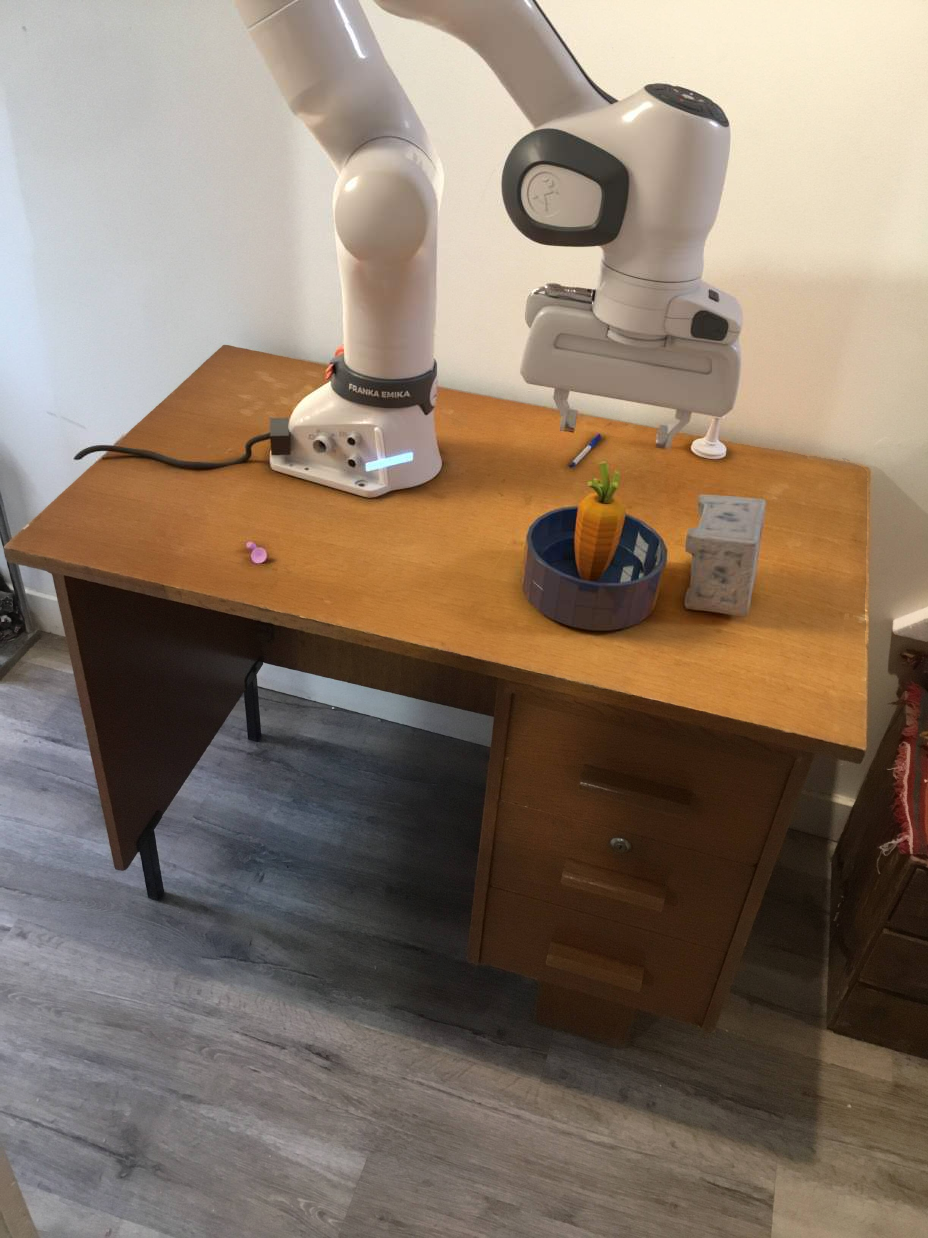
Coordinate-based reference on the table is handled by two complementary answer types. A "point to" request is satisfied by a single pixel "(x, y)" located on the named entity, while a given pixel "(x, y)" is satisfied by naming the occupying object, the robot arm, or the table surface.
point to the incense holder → (724, 553)
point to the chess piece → (710, 442)
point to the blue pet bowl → (586, 603)
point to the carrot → (598, 526)
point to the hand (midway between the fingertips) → (614, 437)
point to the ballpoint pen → (586, 450)
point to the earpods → (257, 553)
